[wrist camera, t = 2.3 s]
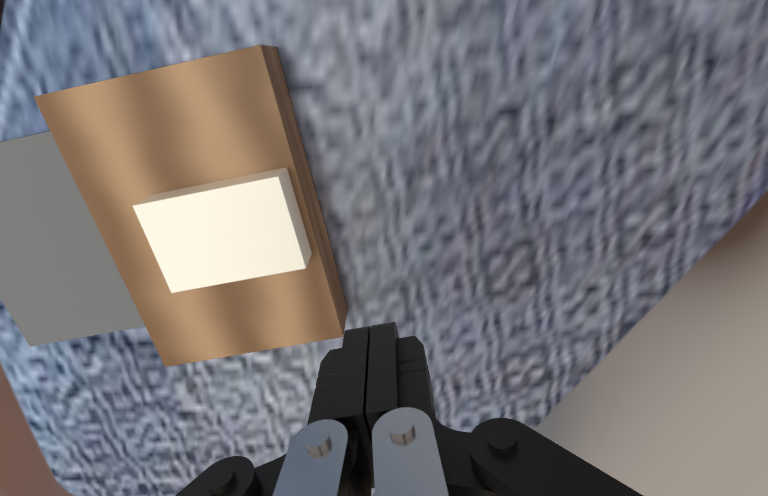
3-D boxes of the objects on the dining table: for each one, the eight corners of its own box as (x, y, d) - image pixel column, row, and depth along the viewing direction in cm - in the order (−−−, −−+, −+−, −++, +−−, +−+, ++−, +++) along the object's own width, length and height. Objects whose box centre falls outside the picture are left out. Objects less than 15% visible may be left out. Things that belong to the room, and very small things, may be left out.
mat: (90, 122, 30) (85, 123, 30) (178, 316, 37) (175, 320, 36) (-77, 159, 31) (-85, 161, 31) (35, 342, 38) (30, 346, 37)
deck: (276, 47, 28) (260, 45, 25) (347, 308, 36) (343, 336, 32) (77, 92, 30) (33, 96, 26) (187, 336, 37) (165, 366, 34)
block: (286, 167, 28) (278, 176, 25) (311, 253, 30) (305, 268, 28) (152, 194, 28) (132, 205, 26) (186, 276, 31) (171, 293, 28)
